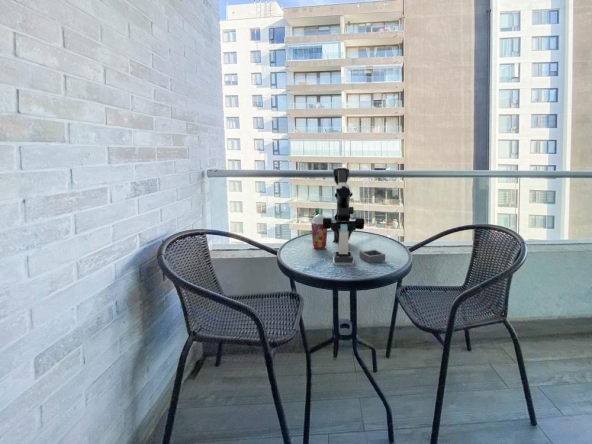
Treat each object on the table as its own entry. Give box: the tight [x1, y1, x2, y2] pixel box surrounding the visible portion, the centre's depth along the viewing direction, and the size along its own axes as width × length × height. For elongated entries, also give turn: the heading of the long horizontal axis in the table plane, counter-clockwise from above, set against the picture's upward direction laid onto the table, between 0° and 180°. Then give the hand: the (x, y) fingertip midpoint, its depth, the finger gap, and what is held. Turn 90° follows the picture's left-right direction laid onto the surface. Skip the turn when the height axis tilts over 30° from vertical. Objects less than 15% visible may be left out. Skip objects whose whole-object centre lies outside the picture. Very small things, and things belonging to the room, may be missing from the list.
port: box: [332, 251, 355, 266], centre depth 185 cm, size 9×9×4 cm
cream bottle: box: [338, 224, 349, 254], centre depth 183 cm, size 4×4×13 cm
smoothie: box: [310, 208, 328, 250], centre depth 205 cm, size 8×8×20 cm
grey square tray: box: [359, 249, 386, 264], centre depth 188 cm, size 8×8×3 cm
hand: (343, 239), depth 181 cm, fingers closed on cream bottle, 4 cm apart
